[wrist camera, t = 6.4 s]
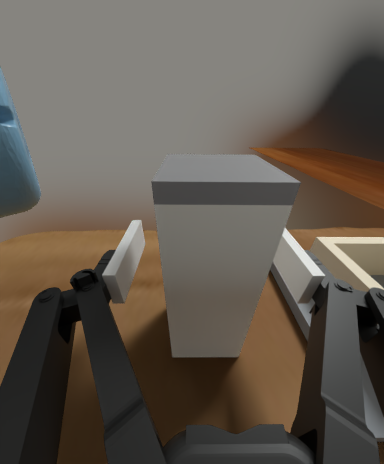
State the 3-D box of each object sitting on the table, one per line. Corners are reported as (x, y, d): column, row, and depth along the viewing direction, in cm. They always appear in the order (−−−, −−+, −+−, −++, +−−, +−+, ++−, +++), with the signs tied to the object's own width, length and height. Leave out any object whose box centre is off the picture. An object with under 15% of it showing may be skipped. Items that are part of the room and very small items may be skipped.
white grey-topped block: (172, 357, 16) (151, 181, 7) (176, 299, 21) (167, 154, 12) (238, 357, 16) (300, 182, 7) (227, 299, 21) (255, 154, 12)
